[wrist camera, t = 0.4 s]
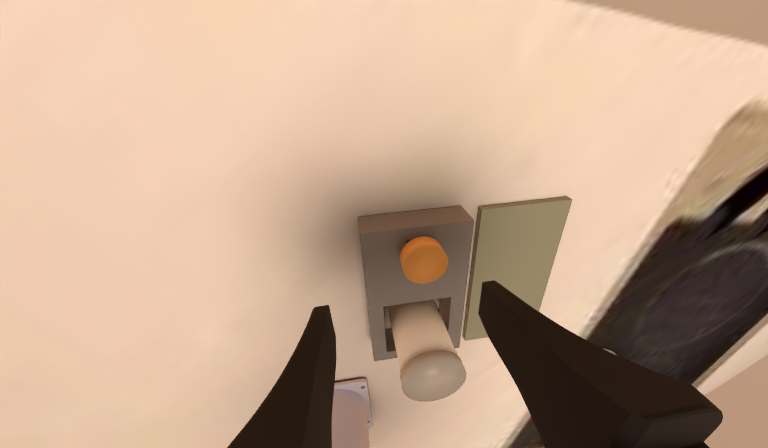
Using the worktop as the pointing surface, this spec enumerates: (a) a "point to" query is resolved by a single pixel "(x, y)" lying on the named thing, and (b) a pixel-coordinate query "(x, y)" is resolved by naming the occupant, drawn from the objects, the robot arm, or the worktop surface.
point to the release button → (423, 260)
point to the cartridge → (425, 352)
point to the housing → (387, 276)
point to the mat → (514, 252)
